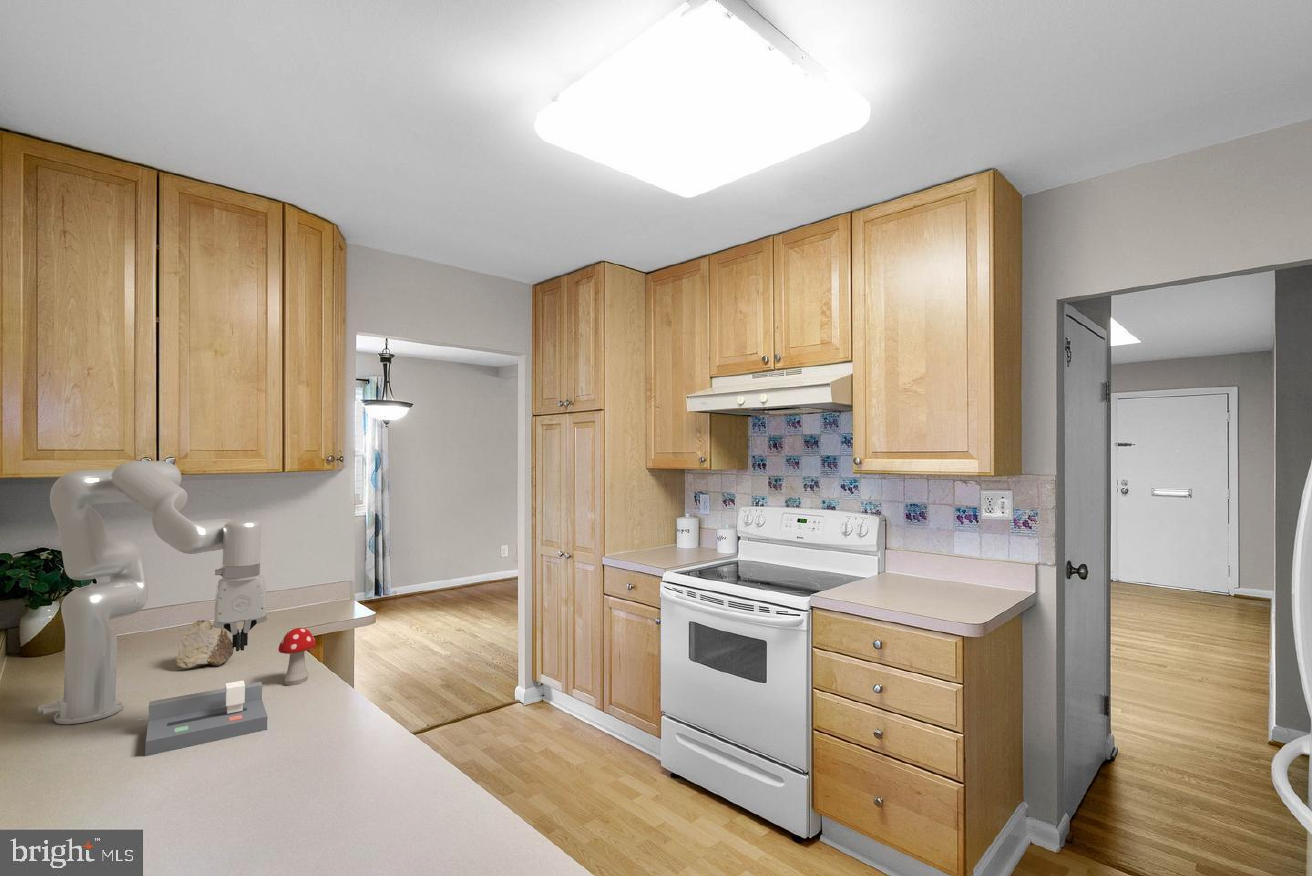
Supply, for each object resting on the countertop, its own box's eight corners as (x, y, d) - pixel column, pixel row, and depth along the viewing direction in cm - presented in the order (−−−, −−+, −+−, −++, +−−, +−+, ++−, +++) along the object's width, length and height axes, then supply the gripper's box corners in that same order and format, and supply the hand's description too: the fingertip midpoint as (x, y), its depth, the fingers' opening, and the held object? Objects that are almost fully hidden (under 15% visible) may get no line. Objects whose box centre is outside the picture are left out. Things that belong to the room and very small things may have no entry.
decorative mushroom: (296, 689, 171) (297, 633, 172) (269, 686, 173) (270, 631, 174) (322, 676, 181) (323, 624, 182) (296, 674, 183) (297, 622, 183)
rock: (167, 651, 180) (213, 611, 191) (157, 652, 184) (203, 612, 195) (205, 684, 186) (248, 642, 196) (195, 683, 190) (237, 643, 201)
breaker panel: (145, 755, 132) (146, 724, 133) (148, 729, 145) (149, 701, 145) (267, 729, 146) (267, 700, 146) (260, 707, 158) (261, 681, 159)
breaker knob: (225, 714, 146) (226, 688, 146) (224, 708, 149) (225, 683, 149) (244, 711, 148) (245, 685, 148) (242, 705, 151) (243, 680, 152)
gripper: (202, 577, 143) (201, 659, 142) (279, 570, 151) (277, 647, 151) (202, 573, 149) (201, 651, 148) (276, 566, 157) (274, 640, 157)
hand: (239, 649), depth 149 cm, fingers closed
